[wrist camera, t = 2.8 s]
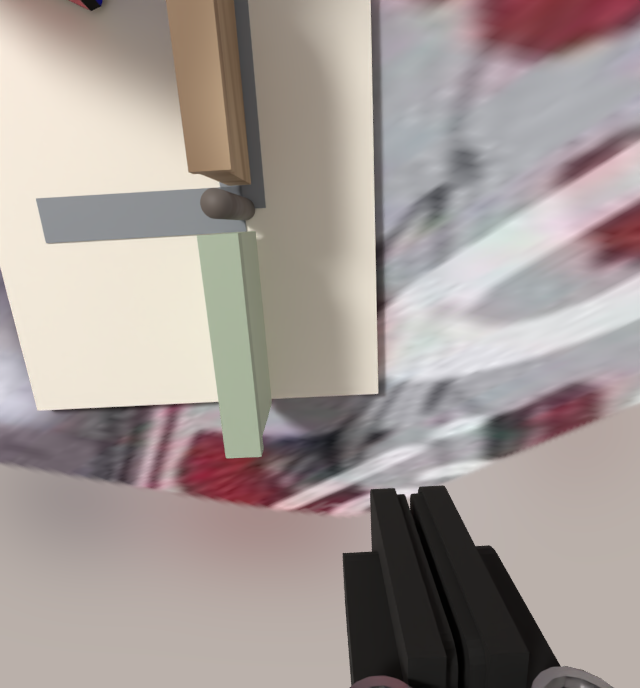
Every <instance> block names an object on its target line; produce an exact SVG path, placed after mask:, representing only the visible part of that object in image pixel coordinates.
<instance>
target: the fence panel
mask: <svg viewBox="0 0 640 688" xmlns="http://www.w3.org/2000/svg"><path fill="white" fill-rule="evenodd" d="M197 241H198V249H199V257H200V264H201V272H202V280H203V287H204V295H205V302H206V310H207V318H208V325H209V333H210V340H211V348H212V356H213V363H214V371H215V378H216V386H217V394H218V401H219V409H220V416H221V424H222V432H223V439H224V447H225V454H226V458H243V457H261V456H262V453H263V439H262V435H263V432H264V428H265V425H266V421H267V418H268V415H269V411H270V408H271V404H272V400H271V389H270V378H269V368H268V357H267V346H266V336H265V325H264V315H263V304H262V293H261V283H260V272H259V262H258V251H257V240H256V231H249V232H232V233H221V234H210V235H197Z"/></svg>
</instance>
